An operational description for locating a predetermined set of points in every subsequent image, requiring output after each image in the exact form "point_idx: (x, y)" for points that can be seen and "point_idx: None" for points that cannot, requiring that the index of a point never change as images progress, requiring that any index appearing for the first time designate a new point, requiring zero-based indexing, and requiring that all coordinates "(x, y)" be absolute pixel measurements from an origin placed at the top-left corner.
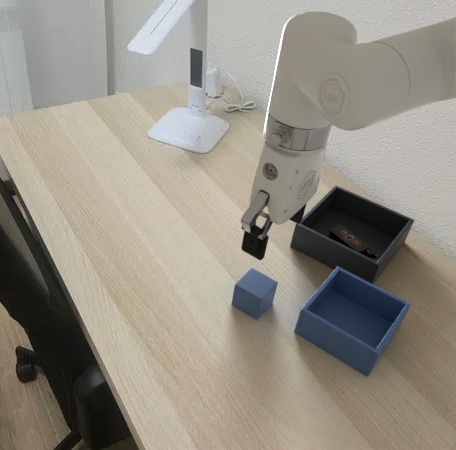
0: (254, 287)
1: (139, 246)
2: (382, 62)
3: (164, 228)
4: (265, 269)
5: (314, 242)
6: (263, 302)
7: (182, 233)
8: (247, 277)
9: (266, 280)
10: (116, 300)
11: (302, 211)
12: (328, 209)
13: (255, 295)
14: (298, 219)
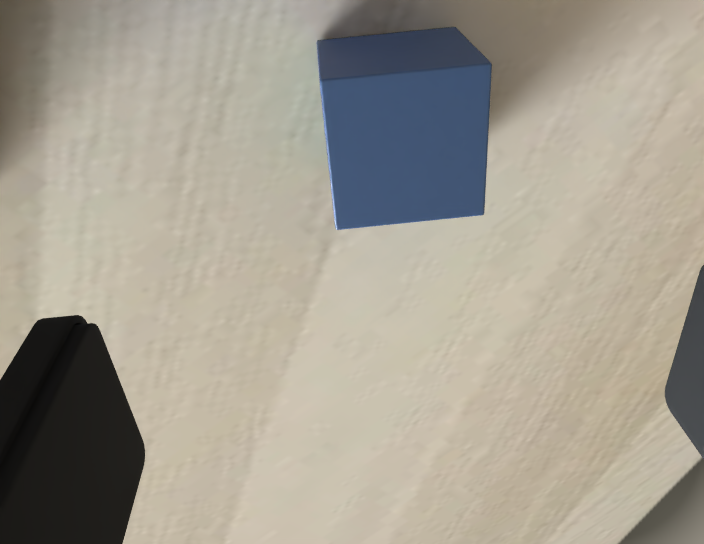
0: (441, 141)
1: (441, 480)
2: None
3: (325, 490)
4: (185, 185)
5: None
6: (446, 53)
7: (297, 454)
8: (408, 203)
9: (355, 130)
10: None
11: (15, 430)
12: None
13: (487, 103)
14: (78, 356)
